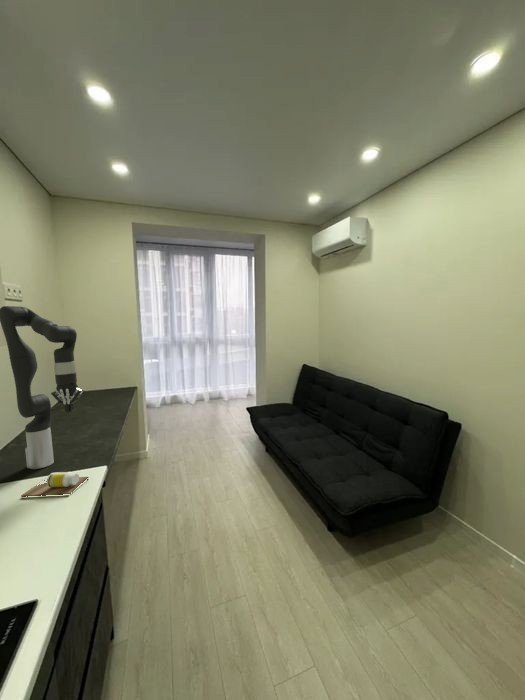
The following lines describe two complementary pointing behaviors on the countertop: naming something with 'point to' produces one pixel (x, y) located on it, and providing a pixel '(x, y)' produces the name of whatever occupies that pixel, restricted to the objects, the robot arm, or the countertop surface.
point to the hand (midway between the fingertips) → (69, 412)
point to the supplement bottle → (62, 479)
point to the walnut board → (52, 489)
